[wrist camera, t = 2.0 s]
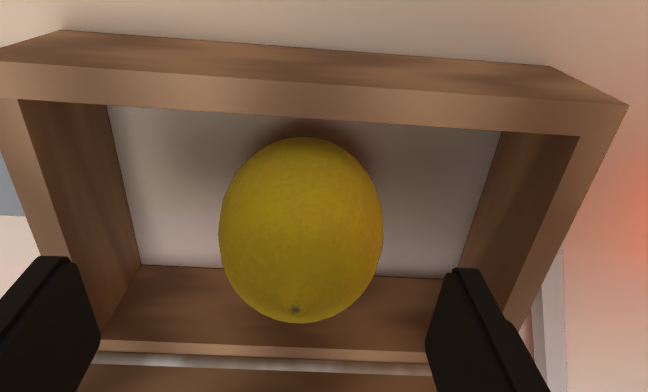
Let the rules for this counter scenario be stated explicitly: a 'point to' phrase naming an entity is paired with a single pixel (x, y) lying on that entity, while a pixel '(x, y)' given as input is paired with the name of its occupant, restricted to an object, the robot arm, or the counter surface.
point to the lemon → (300, 230)
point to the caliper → (551, 328)
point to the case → (288, 101)
